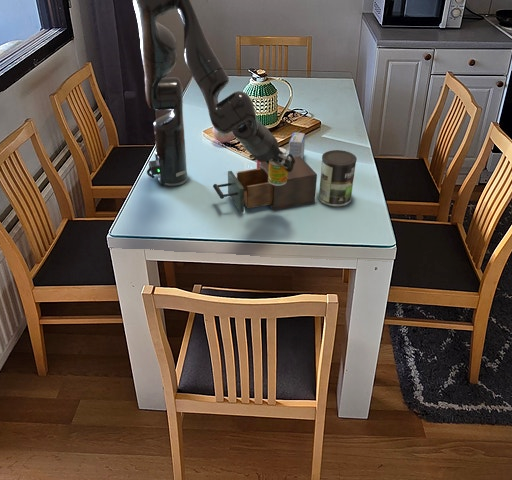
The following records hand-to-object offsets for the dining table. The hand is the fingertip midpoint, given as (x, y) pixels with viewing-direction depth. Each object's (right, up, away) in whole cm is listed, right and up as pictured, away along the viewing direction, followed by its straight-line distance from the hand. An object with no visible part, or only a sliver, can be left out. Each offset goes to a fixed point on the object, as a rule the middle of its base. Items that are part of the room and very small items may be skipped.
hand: (281, 166), depth 162 cm
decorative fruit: (-18, +17, +48) cm, 54 cm away
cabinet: (+2, -6, +18) cm, 19 cm away
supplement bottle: (-1, -4, +2) cm, 5 cm away
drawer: (-11, -8, +13) cm, 19 cm away
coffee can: (+17, -7, +17) cm, 26 cm away
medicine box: (+7, +9, +38) cm, 39 cm away
